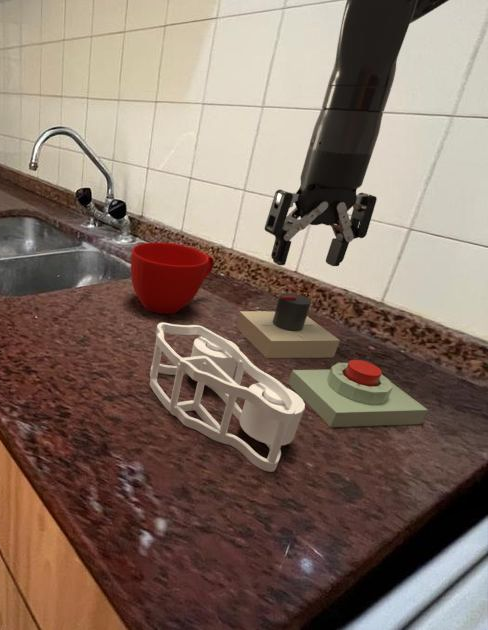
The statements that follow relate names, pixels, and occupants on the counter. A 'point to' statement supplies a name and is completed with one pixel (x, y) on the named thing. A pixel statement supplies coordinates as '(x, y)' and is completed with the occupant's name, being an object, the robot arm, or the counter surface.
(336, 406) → the power switch
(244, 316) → the control panel
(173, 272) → the ceramic cup
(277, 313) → the dial
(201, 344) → the skeletal toy car
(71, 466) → the counter surface
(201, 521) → the counter surface
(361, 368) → the power button
